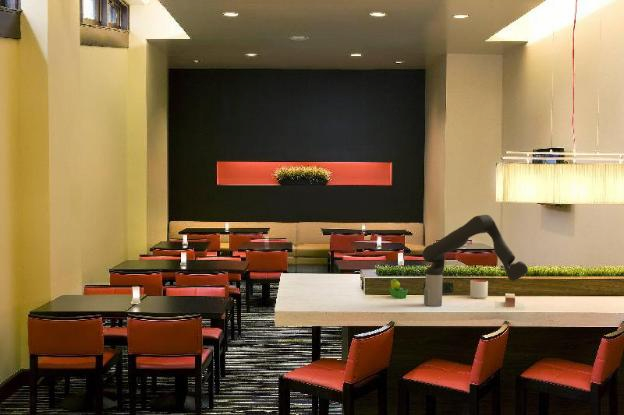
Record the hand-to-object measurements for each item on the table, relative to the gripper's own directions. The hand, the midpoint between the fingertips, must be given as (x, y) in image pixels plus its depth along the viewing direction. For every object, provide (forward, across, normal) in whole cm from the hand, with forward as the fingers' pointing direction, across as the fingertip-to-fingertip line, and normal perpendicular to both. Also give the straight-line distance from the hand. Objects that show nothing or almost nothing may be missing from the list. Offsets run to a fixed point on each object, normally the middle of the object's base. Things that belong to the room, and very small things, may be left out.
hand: (510, 268), depth 437 cm
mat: (+18, -4, +21) cm, 28 cm away
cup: (+44, +12, +20) cm, 50 cm away
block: (+13, -3, +19) cm, 23 cm away
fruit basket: (+34, +59, +26) cm, 73 cm away
